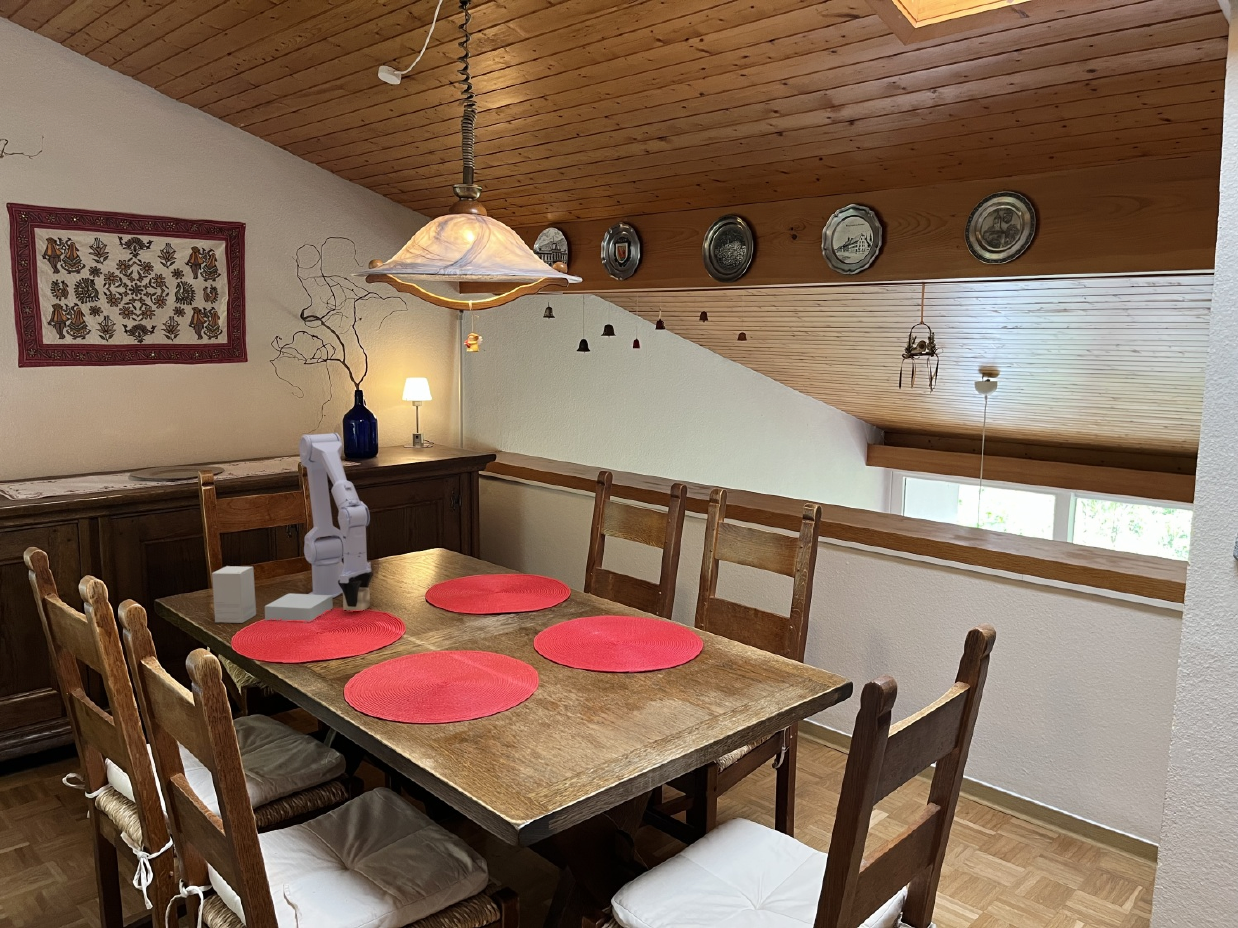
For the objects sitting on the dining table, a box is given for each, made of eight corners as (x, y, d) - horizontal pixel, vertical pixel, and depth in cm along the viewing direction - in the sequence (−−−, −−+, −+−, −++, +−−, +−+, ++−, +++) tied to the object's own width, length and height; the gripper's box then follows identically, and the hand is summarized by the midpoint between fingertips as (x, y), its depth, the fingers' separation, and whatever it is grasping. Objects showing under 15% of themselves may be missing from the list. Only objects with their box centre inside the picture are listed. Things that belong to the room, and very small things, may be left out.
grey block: (289, 608, 239) (288, 593, 238) (332, 610, 237) (332, 595, 236) (265, 621, 227) (264, 606, 226) (310, 624, 225) (310, 608, 225)
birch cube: (351, 605, 240) (351, 586, 239) (369, 606, 239) (369, 587, 239) (343, 610, 235) (342, 592, 234) (361, 611, 234) (361, 592, 234)
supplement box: (257, 614, 231) (254, 566, 230) (242, 623, 224) (239, 573, 222) (229, 613, 232) (226, 565, 230) (213, 622, 225) (210, 572, 223)
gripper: (357, 558, 227) (359, 611, 229) (380, 546, 242) (382, 596, 243) (331, 557, 228) (332, 610, 230) (355, 545, 243) (357, 595, 244)
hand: (356, 603), depth 237 cm, fingers closed on birch cube, 5 cm apart
